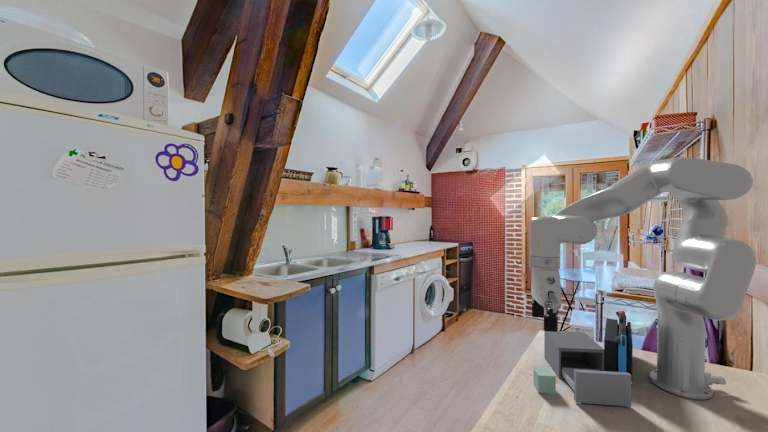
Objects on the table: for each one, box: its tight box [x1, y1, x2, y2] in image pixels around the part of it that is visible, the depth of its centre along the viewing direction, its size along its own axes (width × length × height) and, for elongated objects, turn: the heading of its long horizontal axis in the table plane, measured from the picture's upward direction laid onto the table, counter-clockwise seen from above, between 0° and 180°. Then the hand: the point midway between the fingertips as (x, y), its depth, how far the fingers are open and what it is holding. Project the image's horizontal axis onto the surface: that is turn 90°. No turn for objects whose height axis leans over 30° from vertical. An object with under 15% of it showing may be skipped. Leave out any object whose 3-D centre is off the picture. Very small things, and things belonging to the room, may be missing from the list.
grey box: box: [543, 329, 604, 380], centre depth 95 cm, size 12×12×9 cm
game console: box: [603, 310, 634, 388], centre depth 95 cm, size 28×6×15 cm, turn 142°
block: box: [532, 366, 557, 395], centre depth 85 cm, size 4×4×5 cm
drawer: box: [561, 367, 632, 407], centre depth 84 cm, size 13×13×8 cm
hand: (543, 323), depth 85 cm, fingers open, 9 cm apart
